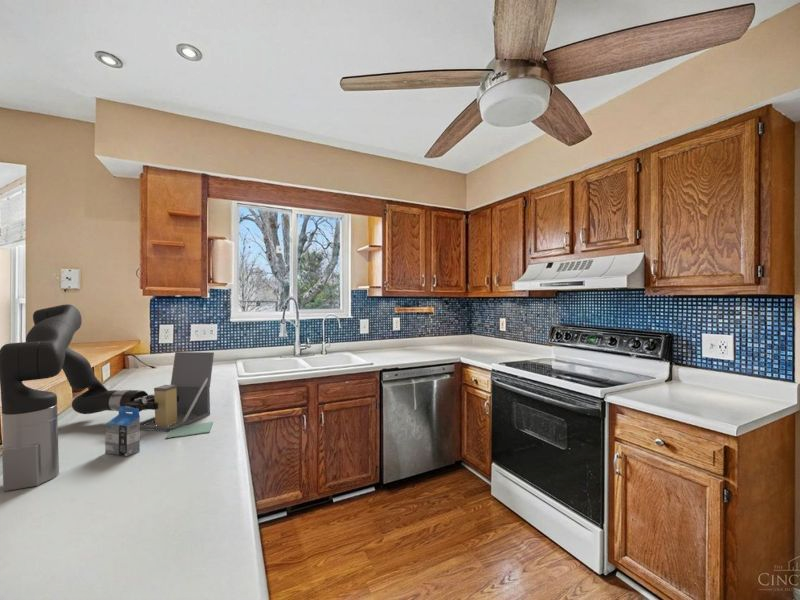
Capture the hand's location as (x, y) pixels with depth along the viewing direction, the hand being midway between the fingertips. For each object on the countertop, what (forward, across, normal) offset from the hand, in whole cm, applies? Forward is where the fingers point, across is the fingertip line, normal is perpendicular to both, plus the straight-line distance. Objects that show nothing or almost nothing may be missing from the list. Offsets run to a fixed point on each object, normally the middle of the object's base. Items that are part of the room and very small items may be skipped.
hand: (168, 402), depth 123 cm
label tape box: (+6, -22, +8) cm, 24 cm away
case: (-1, +4, +8) cm, 9 cm away
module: (-1, 0, +8) cm, 8 cm away
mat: (+13, -4, +8) cm, 15 cm away
